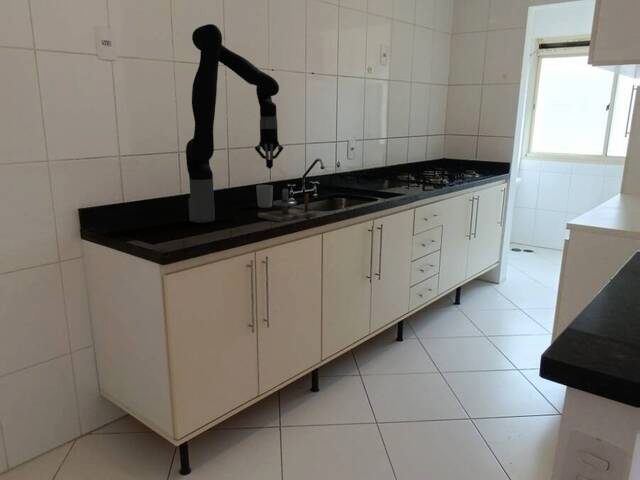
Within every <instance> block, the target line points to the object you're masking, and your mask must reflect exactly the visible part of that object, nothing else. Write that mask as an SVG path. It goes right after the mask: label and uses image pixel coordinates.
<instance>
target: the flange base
mask: <svg viewBox="0 0 640 480" xmlns="http://www.w3.org/2000/svg"><path fill="white" fill-rule="evenodd" d="M289 207H290V206H281V210H273V211H266V212H258V213H257V218H260V219H265V220H269V221H273V220H276V221H275V222H278V221H283V222H287V220H289V221H293V220H292V219H295V220H299V219H298V218H301V219H305V218H304V217H307V218H313V217H317V212H315V211H311V210H309V194H308V193H305V194H304V209H299V208H295V207H292V208H289Z"/></svg>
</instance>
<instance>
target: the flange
mask: <svg viewBox="0 0 640 480" xmlns="http://www.w3.org/2000/svg"><path fill="white" fill-rule="evenodd" d="M281 193H282V194H281V195H282V197H281V199H279V200H278V199H277V200H274V201H273V200H272V206H275V207H282V206H289V207H293V206H297V205H298V201H297V200H294V199H293V200H292V199H289V188H283V189H282V192H281Z"/></svg>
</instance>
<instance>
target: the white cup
mask: <svg viewBox="0 0 640 480" xmlns="http://www.w3.org/2000/svg"><path fill="white" fill-rule="evenodd" d="M255 187H256V200H257V207H258V208H260V209H262V208H264V209H266V208H272V207H273V196H274V195H273V192H274V190H273V189H274V186H273V185H271V184H258V185H256V186H255Z"/></svg>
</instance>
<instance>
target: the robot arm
mask: <svg viewBox="0 0 640 480" xmlns="http://www.w3.org/2000/svg"><path fill="white" fill-rule="evenodd" d="M191 39H192V44H193V45H194V46H195V48H197V49H198V50H199V51H200V58H199V59H200V60H199V64H198V67H197V70H196V73H195V76H194V79H193V82H192V90H191V107H192V108H191V109H192V113H193V120H194V131H193V132H194V133H193V137H192V139H190V140H189V141H188V142H187V144H186V146H185V156H186V157H185V158H186V159H185V160H186V169H187V170H186V171H187V173H188V178H189V193H190V194H189V197H188V213H189V214H188V215H189V221H190V222H192V223H196V224H198V223H199V224H200V223H211V222H214V221H215V220H216V218H215V217H216V216H215V197H214V193H215V192H214V177H213V176H214V173H213V171H212V169H211V166H210V165H211V164H210V160H211V159H212V157H213V156H214V151H215V150H214V148H215V142H214V139H215V138H214V124H215V116H216V105H217V104H216V103H217V94H218V93H217V92H218V75H219V74H218V73H219V63H221V64H222V65H224V66H225V67H227V68H228V69H230V71H233V72H234V74H236V75H237V76H239V77H240V78H241V79H242V80H244V81H245V82H246V83H247V84H249V85H251V86H252V85H253V86H255V87H256V89H255V90H256V91H255V92H256V96H257V97H256V98H257V102H258V105H259V115H260V116H259V143H258V144H257V146H254V150H255V152H256V153H258V154H259V156H260V157H261V158H262V159H264V160H265V164H266V165H265V166H266V167H265V168H267V169H272V168H273V166H274V160H275V159H277V158H278V157H279V155H280V154H281V152H282V151H283V150H284V146H282V145H280V142H279V139H278V136H279V135H278V132H279V131H278V127H279V125H278V118H277V105H276V103H274V102H273V100H272V97H273V96H276V95H277V94H278V93H279V91H280V85H279V83H278V82H277V79H275V78H274V77H273V76H271V75H269V74H267V73H266V72H264V71H261V70H260V69H259V68H258V67H257V66H255V65H254V64H253V63H251V62H250V61H249V60H247V59H246V58H245V57H244V56H241V55H239V54H238V53H236V52H233V51H232V50H230V49H229V48H227V47H226V46H224V45H223V35H222V32H221V30H220V28H219V27H218V26H217V25H215V24H213V23H212V24H211V23H208V24H203V25H200V26H199V27H197V28H195V30H193V32H192V34H191ZM261 149H262V150H263V151H264V152H265V154H264V153H263V152H262V151H261ZM276 149H277V151H276ZM275 151H276V153H275V154H274V152H275Z"/></svg>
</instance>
